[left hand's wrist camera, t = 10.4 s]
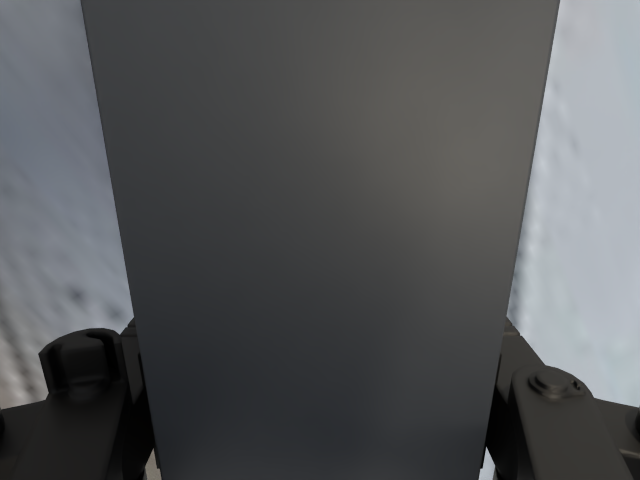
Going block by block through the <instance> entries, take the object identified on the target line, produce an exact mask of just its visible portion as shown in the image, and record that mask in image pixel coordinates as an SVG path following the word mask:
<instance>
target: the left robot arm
mask: <svg viewBox="0 0 640 480" xmlns="http://www.w3.org/2000/svg"><path fill="white" fill-rule="evenodd" d="M39 358H40V362H41V365H42V369H43V373H44V377H45V380H46V384H47V388H48V392H49V394H48V396H47V398H46V400H43V401H39V402H36V403H31V404H26V405H21V406H16V407H12V408H7V409H2V410H1V408H0V480H147V475H146V470H145V465H146V463H147V461H148V459H149V457H150V454H151V452H152V450H153V448H154V453H155V459H156V465H157V469H160V466H159V460H158V455H157V449H156V443H155V437H154V431H153V425H152V419H151V413H150V407H149V401H148V395H147V390H146V384H145V378H144V372H143V366H142V360H141V354H140V348H139V342H138V336H137V330H136V325H135V319H134V318H133V319H132V320H131V322H130V323H129V324H128V327H126V328H125V329H124V330H123V332H122V333H121V334H120V335H119V334H118V333H117V332H115V331H114V330H110V329H105V328H92V329H85V330H80V331H76V332H72V333H70V334H67V335H64V336H62V337H59V338H57V339H56V340H54V341H53V342H51V343H49V344H48V345H46V346H45V347H44V348H43V349H42V351H41V352H40V353H39ZM486 447H487V449H488V451H489V453H490V455H491V457H492V460H493V462H494V464H495V470H494V475H493V480H640V407H639V408H638V407H633V406H628V405H623V404H619V403H614V402H609V401H604V400H600V399H597V398H594V397H593V395H592V393H591V392H590V390H589V389H588V388H587V386H586V385H585V384H584V383H583V382H582V381H580V380H579V379H577V378H576V377H575V376H573V375H572V374H570V373H567V372H565V371H563V370H561V369H558V368H555V367H551V366H546V365H545V364H544V363H543V362H542V360H541V359H540V358H539V357H538V355H537V354H536V353H535V352H534V350H533V349H532V348H531V347H530V345H529V344H528V343H527V342H526V340H525V339H524V338H523V337H522V336H520V333H519V332H518V330H517V329H516V328H515V327H514V326H512V323H511V322H510V320H509V319H508V318H507V317H506V321H505V327H504V333H503V338H502V344H501V350H500V356H499V362H498V368H497V374H496V380H495V385H494V391H493V397H492V403H491V409H490V415H489V421H488V427H487V432H486V438H485V444H484V450H483V456H482V462H481V468H480V469H482V468H483V463H484V457H485V451H486Z"/></svg>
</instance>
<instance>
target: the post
mask: <svg viewBox="0 0 640 480" xmlns="http://www.w3.org/2000/svg"><path fill="white" fill-rule="evenodd" d="M559 4H560V0H81V5H82V11H83V17H84V23H85V29H86V35H87V41H88V47H89V53H90V59H91V65H92V70H93V76H94V82H95V88H96V94H97V100H98V106H99V112H100V118H101V124H102V130H103V135H104V141H105V147H106V153H107V159H108V165H109V171H110V177H111V183H112V189H113V195H114V200H115V206H116V212H117V218H118V224H119V230H120V236H121V242H122V248H123V254H124V260H125V265H126V271H127V277H128V283H129V289H130V295H131V301H132V307H133V313H134V319H135V325H136V330H137V336H138V342H139V348H140V354H141V360H142V366H143V372H144V378H145V384H146V390H147V395H148V401H149V407H150V413H151V419H152V425H153V431H154V437H155V443H156V449H157V455H158V460H159V466H160V472H161V478H162V480H478V479H479V474H480V468H481V462H482V456H483V450H484V444H485V438H486V432H487V427H488V421H489V415H490V409H491V403H492V397H493V391H494V385H495V380H496V374H497V368H498V362H499V356H500V350H501V344H502V338H503V333H504V327H505V321H506V315H507V309H508V303H509V297H510V291H511V286H512V280H513V274H514V268H515V262H516V256H517V250H518V244H519V239H520V233H521V227H522V221H523V215H524V209H525V203H526V197H527V192H528V186H529V180H530V174H531V168H532V162H533V156H534V151H535V145H536V139H537V133H538V127H539V121H540V115H541V109H542V104H543V98H544V92H545V86H546V80H547V74H548V68H549V62H550V57H551V51H552V45H553V39H554V33H555V27H556V21H557V15H558V10H559Z"/></svg>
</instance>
